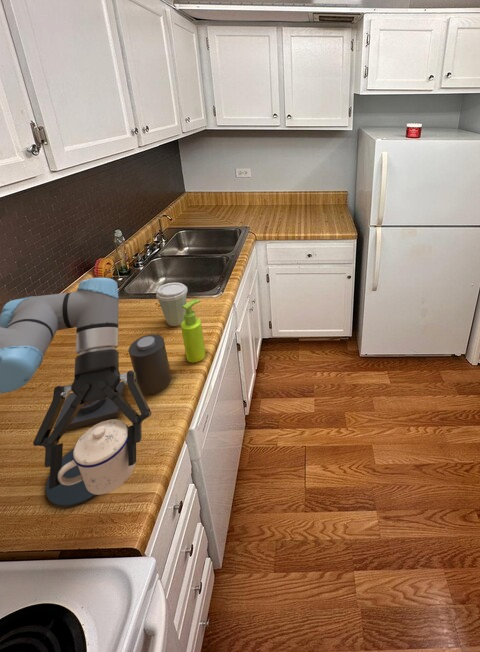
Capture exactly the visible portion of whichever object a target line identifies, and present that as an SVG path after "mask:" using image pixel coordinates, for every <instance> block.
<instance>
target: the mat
mask: <svg viewBox="0 0 480 652" xmlns="http://www.w3.org/2000/svg"><path fill="white" fill-rule="evenodd" d="M73 451H74V448H72V449H71V450H70V451H68V452H67V453H66V454H65V455H64V456H62V467H63V466H64V465H66V464H67V463H69V462H71V461H73V460H74V459H73ZM80 474H81V473H80V470H79V467H78V465H77V466H75V467H73V468H71V469H69V470H68V471H66V472H65V473H64V475H63V476H64V477H66V478H73V477H76V476H78V475H80ZM49 479H50V475H49V476H48V478H47V481H46V483H45V495H46V498H47V499H48V501H49V502H50V503H51V504H52V505H54V506H56V507H61V508H69V507H75V506H79V505H81V504H84V503H87V502H88V501H90V500H91V499H94V498H96V497H97V495H95V494H92V493H90V492H89V491H88V490H87V488H86V486H85V483H84V481H83V480H82V481H80V482H78V483H76V484H73V485H63V484H59V485H58V486H56V487H54V488H51V489H49Z"/></svg>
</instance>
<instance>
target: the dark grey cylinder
mask: <svg viewBox="0 0 480 652" xmlns="http://www.w3.org/2000/svg"><path fill="white" fill-rule="evenodd" d="M128 354H129V357H130V362H131V366H132V371H135V372H136V380H137V384H138V386H139V388H140V390H141V392H142V394H143V396H154V395H158V394H160V393H161V392H163V391H164V390H166V389H167V388H168V387H169V386H170V384H171V383H172V379H173V377H172V372H171V366H170V363H169V357H168V353H167V348H166V343H165V339H164V337H163V336H162V335H159V334H146V335H144V336H143V335H142V336H141V337H139V338H137V339H135V340H134V341H133V342H132V343H131V344H130V345H129V347H128Z"/></svg>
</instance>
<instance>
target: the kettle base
mask: <svg viewBox="0 0 480 652" xmlns="http://www.w3.org/2000/svg"><path fill="white" fill-rule="evenodd" d="M126 384H127V383H124V381H123V380H120V382H119V384H118V385H117V387H116V389H117V390H118V391H119V393H120V394H121V396H122V397H123V398H124V397H125V391H126V387H127V385H126ZM75 397H76V395H75V393H74V392H73V391H72V392H70V393H69V395H68V396H67V397H66V398H65V401H64V404H63V406H62V408H61V410H60V413H59V415H58V417H57V419H56V421H55V424H54V426H53V430H54V429H55V428H56V426H57V425H58V423H59V422H60V420H61V419H62V418H63V416H64V415H65V413H66V412H67V410H68V409H69V407H70V405H71V403H72V402H73V400H74V399H75ZM120 413H121V410H120V409H119V408H118V407H117V406H116V404H115V403H114V402H113V401H112V400H110V399H109V398H107V399H104V400H97V401H94V402H92V403H90V404H84V406H83V407H82V408H81V409H80V410H79V412H78V413H77V415H76V416H75V418H74V419H73V421H72V422H71V424H70V425H69V426H68V428H67V429H66V431H65V432H68V431H71V430H75V429H79V428H83V427H87V426H90V425H96V424H98V423H100V422H103V421H106V420H112V419H119V417H120Z"/></svg>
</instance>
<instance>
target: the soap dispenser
mask: <svg viewBox="0 0 480 652" xmlns="http://www.w3.org/2000/svg"><path fill="white" fill-rule="evenodd" d="M199 303H201V300H200V299H198V298H195V299H192V300H189V301H188V302H186V304H185V305H183V306H182V307H183V308H184V309H186V312H185V313H184V321H183V322H182V323H181V325H180V329H181V333H182V339H183V345H184V351H185V356H186V360H187V362H189V363H198V362H201V361H202V360H203V359H204V358H205V357H206V347H205V340H204V334H203V328H202V327H203V326H202V321H201V319H200V318H199V317H196V315H197V314H196V312H195V311H194V310H193V308H192V307H193V306H195V305H197V304H199Z"/></svg>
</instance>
